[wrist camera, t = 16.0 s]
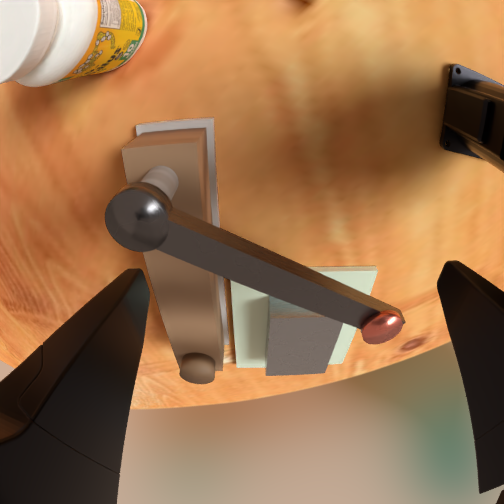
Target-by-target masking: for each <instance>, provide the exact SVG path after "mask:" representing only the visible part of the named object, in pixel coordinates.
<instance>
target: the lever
mask: <svg viewBox="0 0 504 504" xmlns="http://www.w3.org/2000/svg"><path fill="white" fill-rule="evenodd" d="M105 222H106V226H107V229H108V231H109V233H110V234H111V236H112V237H113V238H114V239H115V240H116V241H117V242H118V243H119V244H120V245H122V246H123V247H125V248H127V249H130V250H133V251H137V252H148V251H152V250H155V249H156V250H159V251H161V252H163V253H166V254H168V255H171V256H173V257H175V258H178V259H180V260H182V261H185V262H187V263H190V264H192V265H194V266H197V267H199V268H202V269H204V270H207V271H209V272H212V273H214V274H216V275H219V276H221V277H224V278H226V279H229V280H231V281H234V282H236V283H239V284H241V285H244V286H247V287H249V288H252V289H254V290H257V291H259V292H262V293H264V294H267V295H270V296H272V297H275V298H277V299H280V300H283V301H285V302H288V303H291V304H293V305H296V306H298V307H301V308H304V309H306V310H309V311H312V312H315V313H317V314H320V315H323V316H325V317H328V318H331V319H334V320H336V321H339V322H342V323H345V324H348V325H350V326H353V327H356V328H359V329H361V333H362V337H363V340H364V341H365V342H366V343H368V344H380V343H384V342H386V341H389V340H391V339H392V338H394V337H395V336H396V335H397V334H398V333H399V332H400V331H401V329H402V326H403V324H404V323H405V320H404V317H403V315H402V313H401V311H400V310H399V309H397V308H395V307H393V306H391V305H389V304H386V303H384V302H382V301H380V300H378V299H376V298H373V297H371V296H369V295H367V294H365V293H363V292H360V291H358V290H356V289H354V288H352V287H350V286H347V285H345V284H343V283H341V282H339V281H336V280H334V279H332V278H330V277H328V276H325V275H323V274H321V273H319V272H317V271H314V270H312V269H310V268H308V267H306V266H303V265H301V264H299V263H297V262H295V261H292V260H290V259H288V258H286V257H284V256H281V255H279V254H277V253H275V252H273V251H270V250H268V249H266V248H264V247H261V246H259V245H257V244H255V243H252V242H250V241H248V240H246V239H244V238H241V237H239V236H237V235H235V234H232V233H230V232H228V231H226V230H223V229H221V228H219V227H217V226H214V225H212V224H210V223H208V222H205V221H203V220H201V219H199V218H196V217H194V216H192V215H190V214H187V213H185V212H183V211H181V210H178V209H176V208H174V207H173V205H172V202H171V200H170V199H169V197H168V196H167V195H166V193H165V192H164V191H162V190H161V189H160V188H159V187H157V186H155V185H153V184H150V183H147V182H132V183H129V184H127V185H125V186H124V187H122V188H121V189H120V190H119V192H118V193H117V194H116V195H115V196H114V198H113V199H112V200H111V201H110V203H109V204H108V206H107V208H106V212H105Z"/></svg>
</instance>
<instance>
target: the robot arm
mask: <svg viewBox="0 0 504 504" xmlns="http://www.w3.org/2000/svg"><path fill="white" fill-rule="evenodd" d="M456 68H457V70H458V72H457V73H456ZM446 141H448V143H447V144H446V145H445V143H446ZM440 146H441V147H442V148H443V149H445V150H448V151H452V152H457V153H461V154H465V155H469V156H473V157H477V158H481V159H484V160H486V161H487V162H489V163H490V164H492V165H493V166H495V167H496V168H498V169H499V170H500V171H502V172H503V173H504V85H502V84H500V83H498V82H496V81H494V80H492V79H490V78H488V77H486V76H484V75H482V74H480V73H477V72H475V71H473V70H471V69H468V68H466V67H464V66H461V65H459V64H452V65H451V66H450V71H449V82H448V89H447V97H446V105H445V112H444V118H443V126H442V132H441V137H440ZM437 289H438V293H439V296H440V300H441V304H442V307H443V311H444V315H445V319H446V324H447V327H448V331H449V334H450V337H451V341H452V343H453V347H454V350H455V354H456V357H457V361H458V364H459V368H460V372H461V376H462V380H463V384H464V388H465V392H466V397H467V402H468V406H469V411H470V416H471V422H472V428H473V435H474V440H475V441H474V443H475V450H476V459H477V469H478V484H479V493H480V494H481V493H483V492H486V491H489V490H491V489H494V488H496V487H499V486H501V485H503V484H504V292H503V291H502V290H500V289H499V288H497V287H496V286H495V285H493V284H492V283H490V282H489V281H488V280H486V279H485V278H483V277H482V276H480V275H479V274H477V273H476V272H474V271H473V270H471V269H470V268H468V267H467V266H465V265H464V264H462V263H461V262H459V261H457V260H453V261H447V262H446V263H445V265H444V267H443V269H442V272H441V274H440V276H439V278H438V281H437ZM149 300H150V292H149V288H148V285H147V282H146V279H145V276H144V273H143V271H142V270H141V269H127V270H125V271H124V272H123V273H122V274H121V275H119V276H118V277H117V278H116V279H115V280H113V281H112V282H111V283H110V284H109V285H107V286H106V287H105V288H104V289H103V290H102V291H100V292H99V293H98V294H97V295H96V296H95V297H93V298H92V299H91V300H90V301H89V302H88V303H86V304H85V305H84V306H83V307H82V308H81V309H80V310H79V311H77V312H76V313H75V314H74V315H73V316H72V317H71V318H70V319H68V320H67V321H66V322H65V323H64V324H63V325H62V326H61V327H60V328H59V329H57V330H56V331H55V332H54V333H53V334H52V335H51V336H50V337H49V338H48V339H47V340H46V341H45V342H43V345H40V346H39V347H38V348H37V349H36V350H35V351H34V352H33V353H32V354H31V355H30V356H29V357H28V358H27V359H25V360H24V361H23V362H22V363H21V364H20V365H19V366H18V367H17V368H16V369H14V370H13V371H12V372H11V373H10V374H9V375H8V376H6V377H5V378H4V379H3V380H2V381H1V382H0V504H117V495H118V486H119V477H120V474H119V473H120V468H121V460H122V453H123V445H124V440H125V434H126V427H127V422H128V416H129V411H130V405H131V400H132V395H133V390H134V385H135V380H136V376H137V371H138V366H139V362H140V358H141V353H142V348H143V343H144V336H145V328H146V321H147V313H148V306H149ZM496 504H504V490H502V491H501V494H500V496H499V498H498V500H497V503H496Z"/></svg>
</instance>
